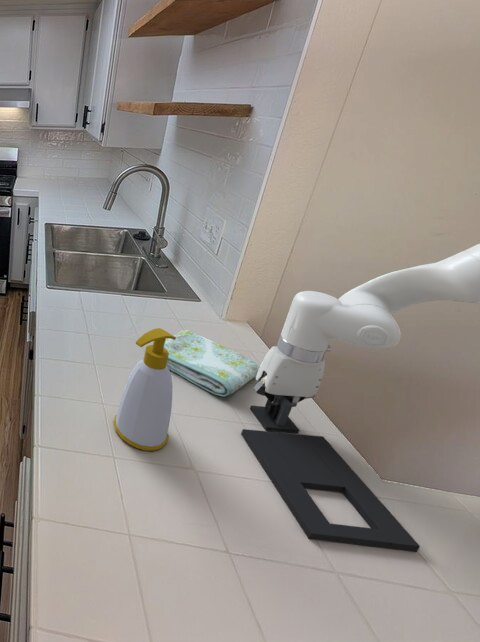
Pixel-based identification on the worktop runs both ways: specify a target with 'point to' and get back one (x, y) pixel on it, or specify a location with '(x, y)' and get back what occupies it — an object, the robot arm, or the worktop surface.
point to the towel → (208, 363)
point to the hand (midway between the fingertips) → (275, 415)
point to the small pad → (282, 419)
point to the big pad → (324, 474)
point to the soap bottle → (147, 396)
